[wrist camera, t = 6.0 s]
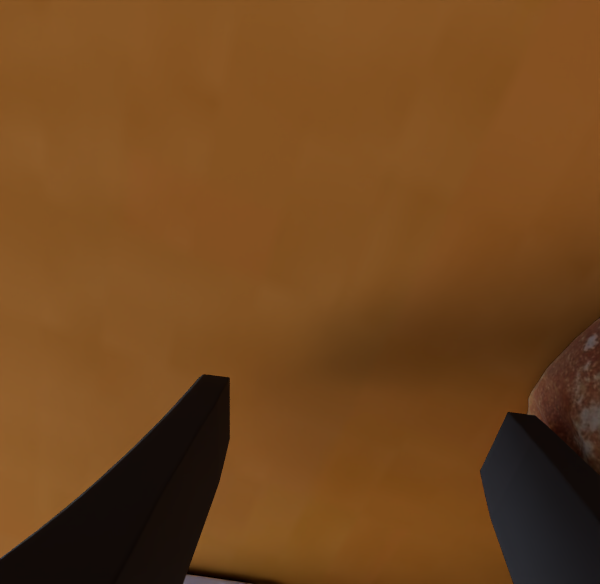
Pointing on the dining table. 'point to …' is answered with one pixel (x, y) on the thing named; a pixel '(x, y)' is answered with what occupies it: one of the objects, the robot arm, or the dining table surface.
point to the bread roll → (573, 396)
